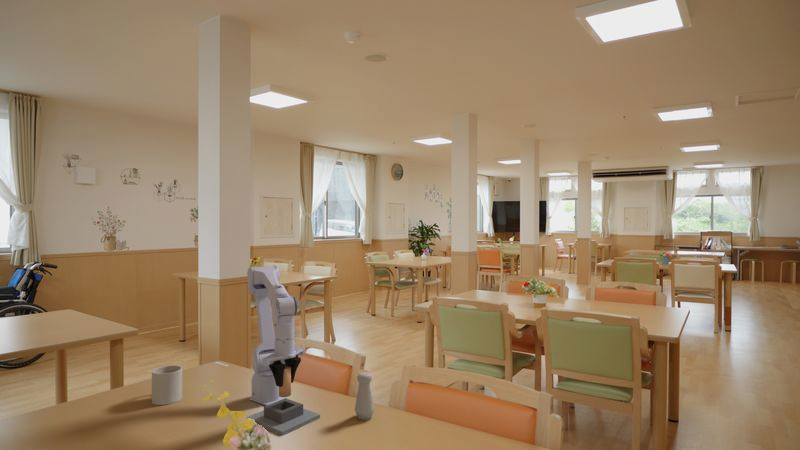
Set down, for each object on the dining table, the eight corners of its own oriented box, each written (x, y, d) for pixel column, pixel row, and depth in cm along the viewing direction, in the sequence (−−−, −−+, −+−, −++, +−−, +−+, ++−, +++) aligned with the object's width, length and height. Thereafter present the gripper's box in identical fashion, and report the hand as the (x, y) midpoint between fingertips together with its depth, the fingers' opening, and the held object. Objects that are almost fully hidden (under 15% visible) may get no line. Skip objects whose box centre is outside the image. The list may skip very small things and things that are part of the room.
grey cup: (173, 405, 144) (173, 373, 144) (144, 405, 144) (143, 373, 144) (190, 392, 155) (190, 363, 155) (162, 392, 155) (162, 363, 155)
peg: (276, 395, 134) (276, 368, 134) (285, 391, 137) (285, 365, 137) (284, 398, 132) (283, 370, 132) (293, 394, 134) (293, 367, 134)
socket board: (246, 420, 133) (246, 406, 133) (284, 405, 144) (284, 392, 144) (282, 435, 123) (282, 420, 123) (320, 417, 135) (320, 404, 135)
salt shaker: (371, 422, 132) (371, 377, 132) (352, 420, 133) (352, 376, 133) (376, 414, 137) (376, 371, 137) (358, 412, 138) (358, 369, 139)
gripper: (273, 345, 126) (273, 394, 126) (312, 335, 138) (312, 379, 138) (257, 341, 130) (257, 389, 130) (296, 331, 142) (296, 375, 142)
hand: (284, 384), depth 134 cm, fingers closed on peg, 3 cm apart
